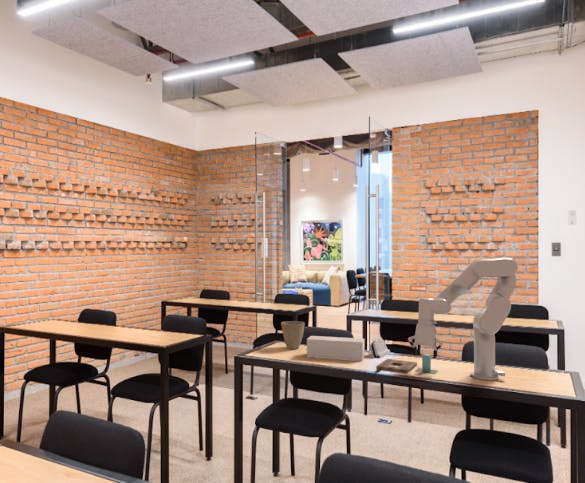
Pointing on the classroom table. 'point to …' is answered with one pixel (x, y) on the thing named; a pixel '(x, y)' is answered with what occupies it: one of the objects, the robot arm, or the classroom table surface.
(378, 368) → the hole board
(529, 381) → the classroom table surface
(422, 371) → the plate
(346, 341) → the long grey foam brick
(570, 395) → the classroom table surface
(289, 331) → the plant pot
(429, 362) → the peg
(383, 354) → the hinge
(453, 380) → the classroom table surface
